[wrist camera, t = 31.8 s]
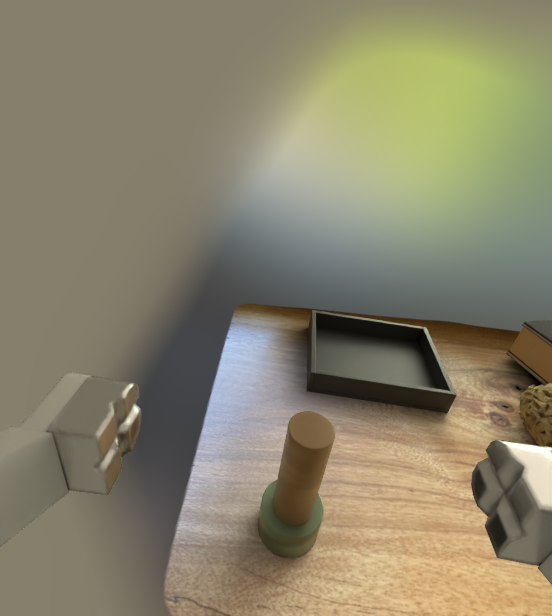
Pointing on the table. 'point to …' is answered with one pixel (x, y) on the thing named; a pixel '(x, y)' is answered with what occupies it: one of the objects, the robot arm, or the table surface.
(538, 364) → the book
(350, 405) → the table surface
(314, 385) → the pan
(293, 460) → the tan cylinder
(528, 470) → the robot arm
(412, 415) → the table surface
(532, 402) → the sponge
